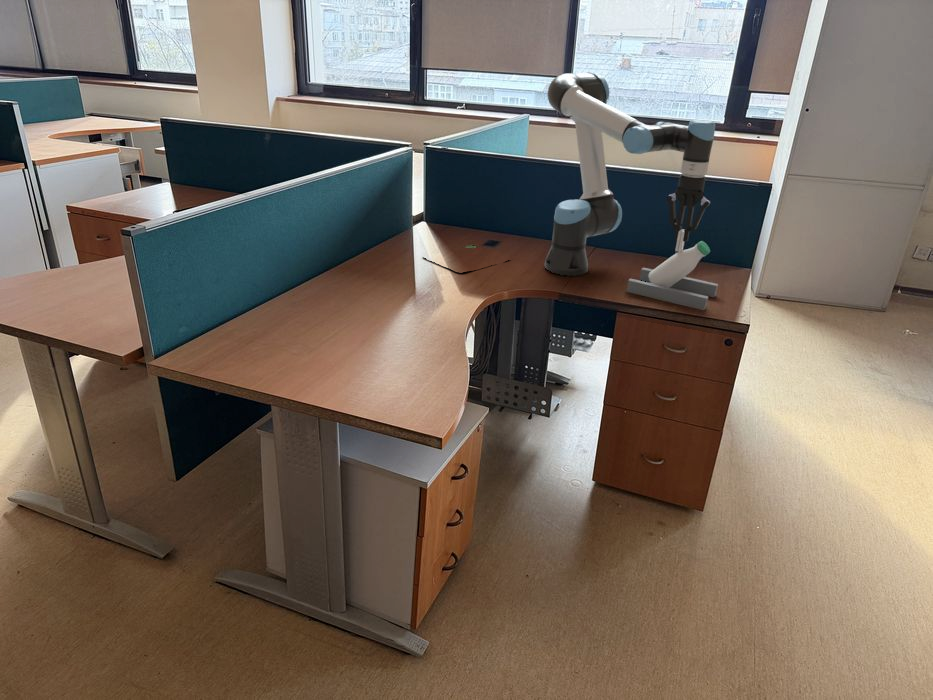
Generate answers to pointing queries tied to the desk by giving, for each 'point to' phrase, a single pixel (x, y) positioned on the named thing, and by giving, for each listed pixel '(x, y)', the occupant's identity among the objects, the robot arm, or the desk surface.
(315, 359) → the desk surface
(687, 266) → the milk bottle
